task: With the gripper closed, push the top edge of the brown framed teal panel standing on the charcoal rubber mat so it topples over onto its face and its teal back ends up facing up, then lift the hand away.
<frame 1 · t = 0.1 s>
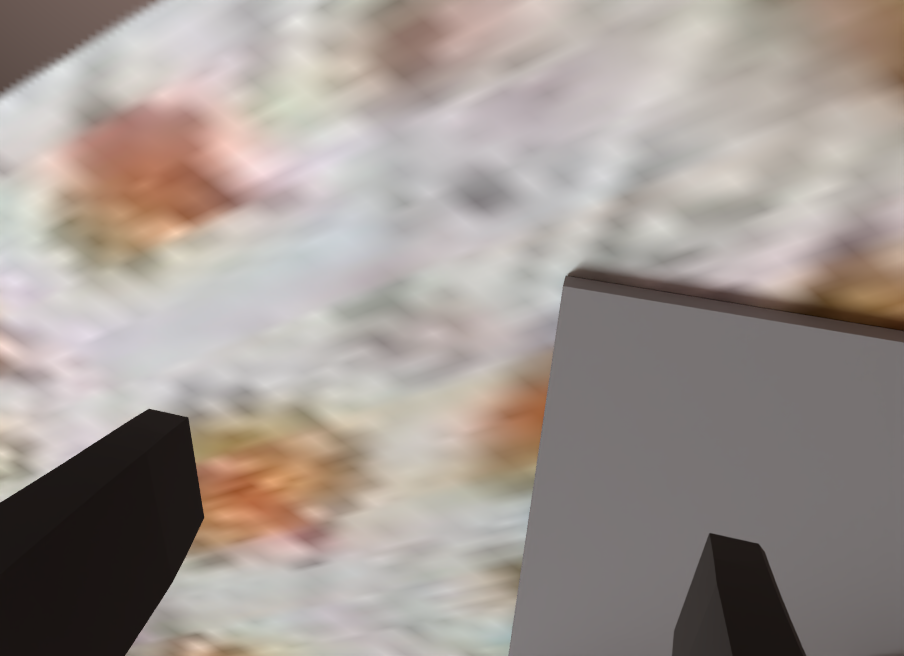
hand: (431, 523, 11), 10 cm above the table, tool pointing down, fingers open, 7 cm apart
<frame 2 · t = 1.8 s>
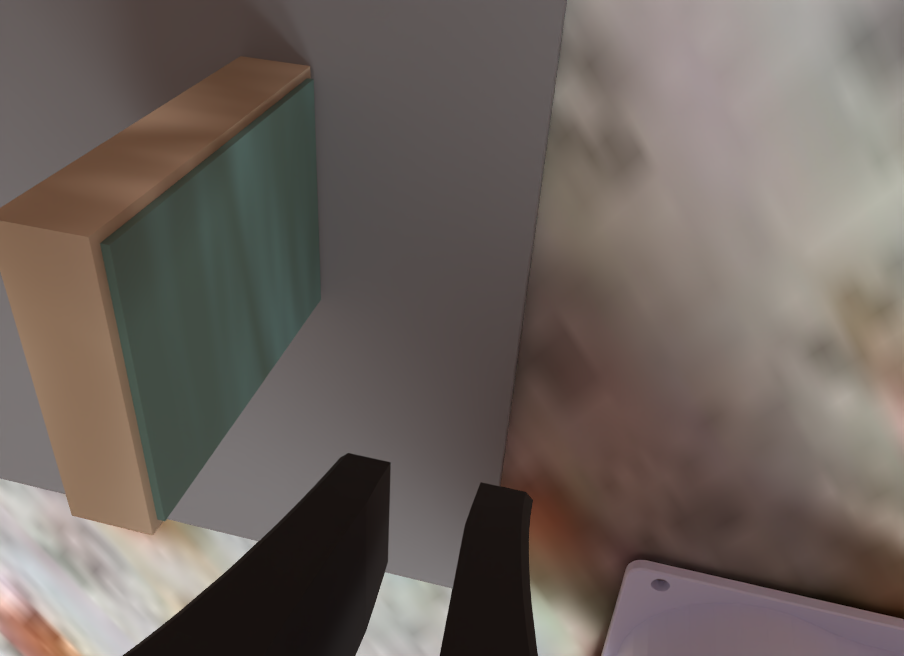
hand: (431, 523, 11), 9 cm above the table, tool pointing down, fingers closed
rubber mat: (186, 232, 21), on the table
brown framed teal panel: (282, 188, 19), resting on rubber mat
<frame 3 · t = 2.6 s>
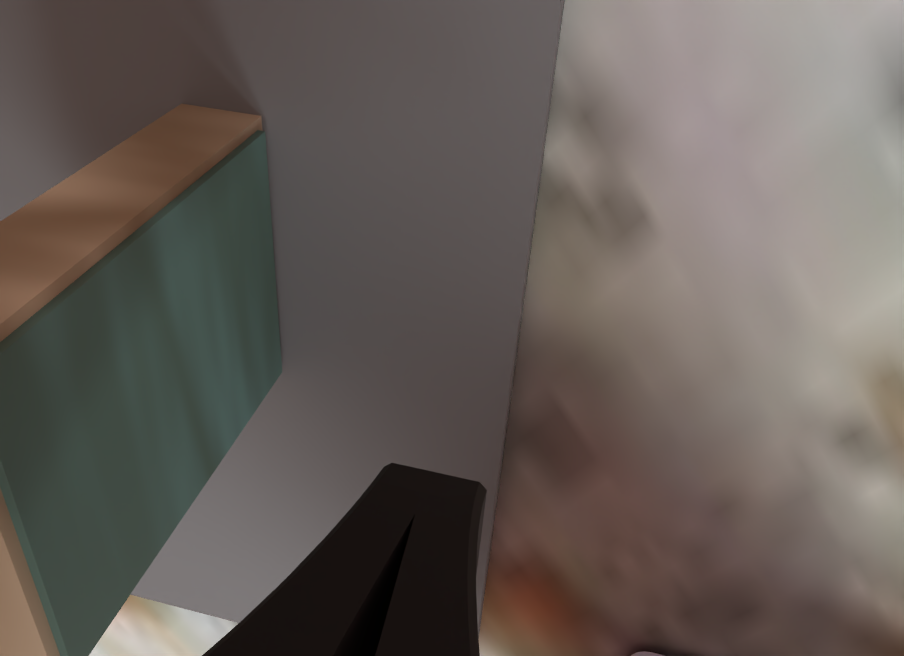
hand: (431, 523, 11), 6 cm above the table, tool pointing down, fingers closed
rubber mat: (132, 293, 19), on the table
brown framed teal panel: (235, 250, 17), resting on rubber mat
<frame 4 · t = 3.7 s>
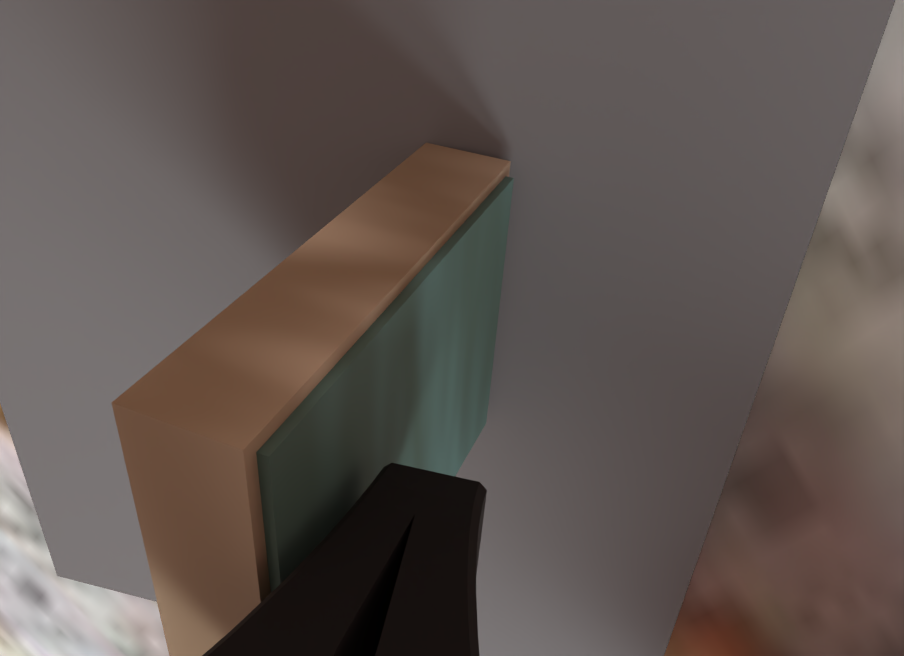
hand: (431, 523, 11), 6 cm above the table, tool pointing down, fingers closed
rubber mat: (326, 332, 18), on the table
brown framed teal panel: (456, 295, 16), point 1 cm above the table, tilted 9°, touching rubber mat
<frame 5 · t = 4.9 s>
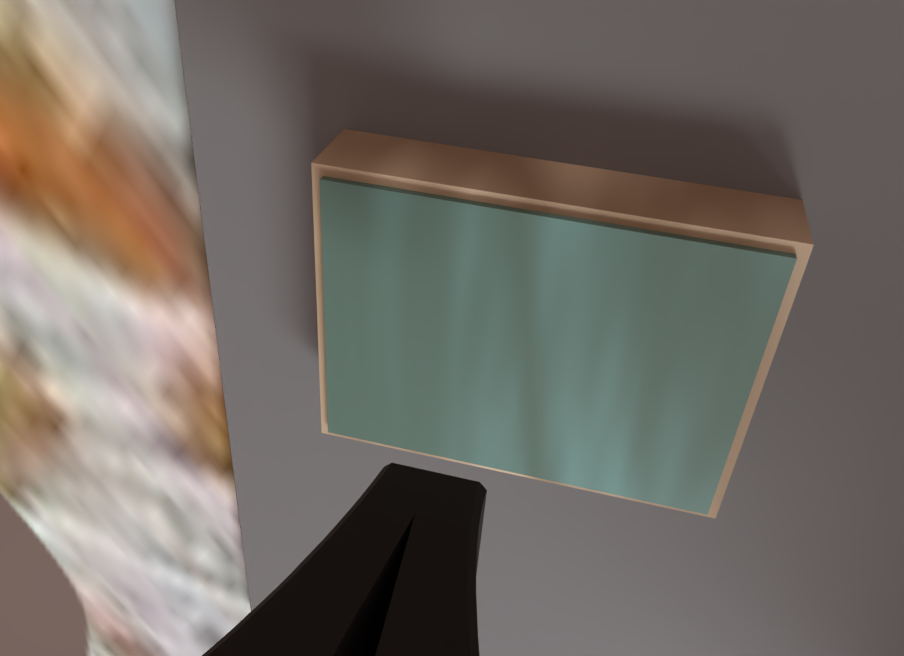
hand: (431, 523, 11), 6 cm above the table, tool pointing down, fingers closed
rubber mat: (623, 390, 17), on the table
brown framed teal panel: (755, 370, 15), point 1 cm above the table, tilted 90°, touching rubber mat
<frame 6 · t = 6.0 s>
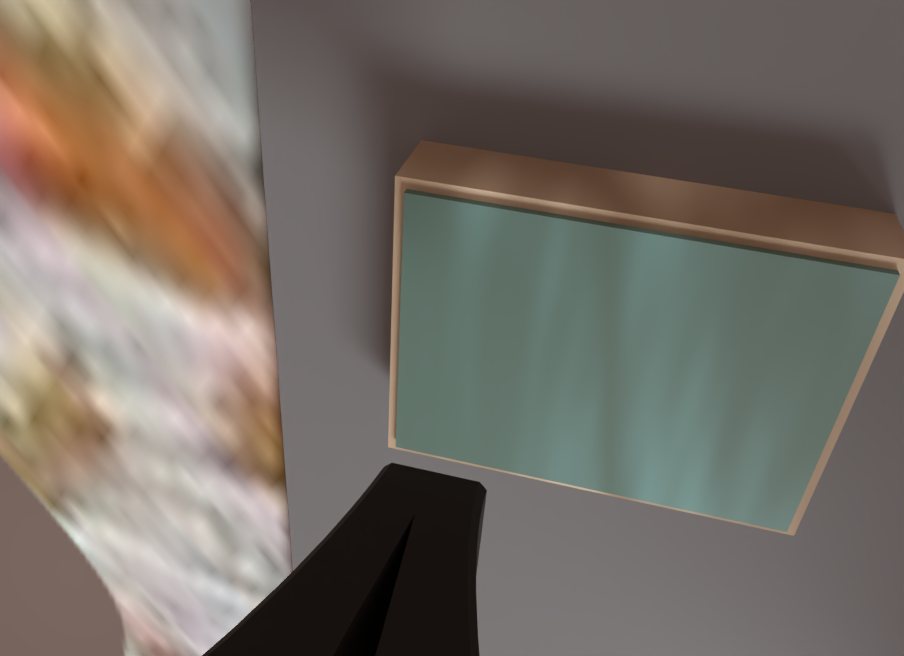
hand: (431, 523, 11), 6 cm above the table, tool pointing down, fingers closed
rubber mat: (693, 404, 17), on the table
brown framed teal panel: (841, 386, 14), point 1 cm above the table, tilted 90°, touching rubber mat
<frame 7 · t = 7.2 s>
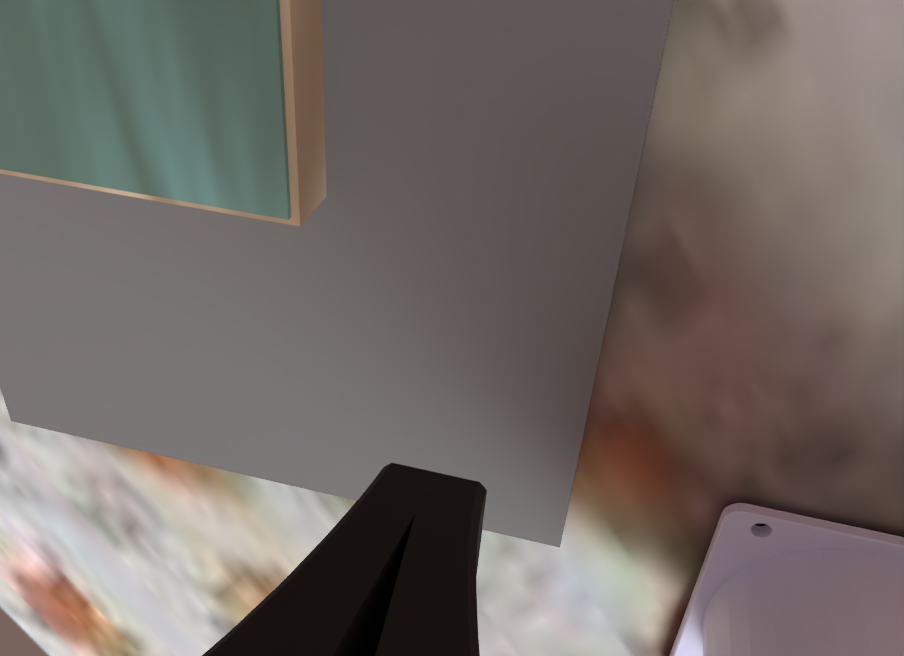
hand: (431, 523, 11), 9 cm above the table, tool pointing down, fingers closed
rubber mat: (249, 134, 19), on the table
brown framed teal panel: (309, 79, 17), point 1 cm above the table, tilted 90°, touching rubber mat
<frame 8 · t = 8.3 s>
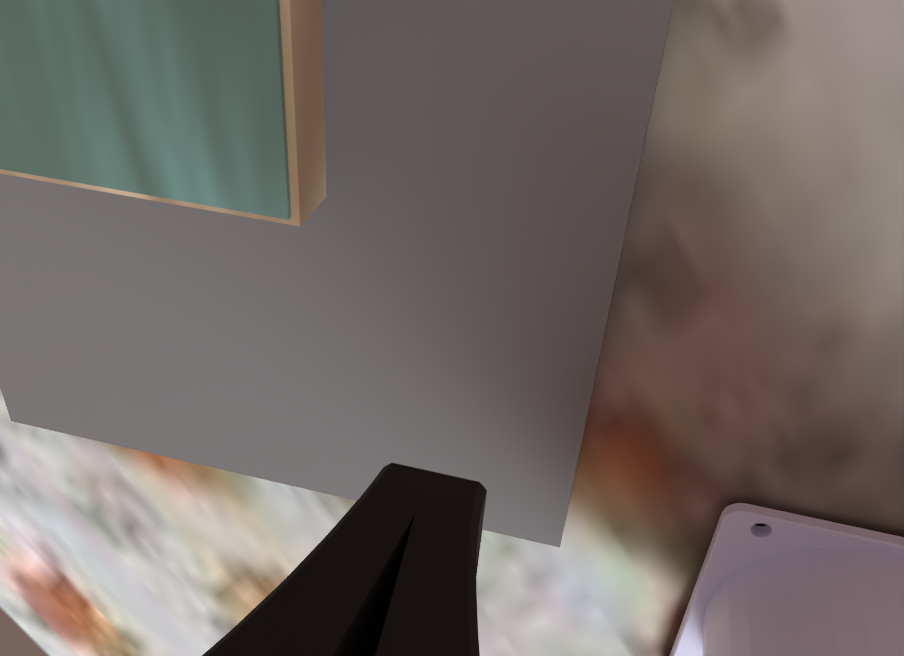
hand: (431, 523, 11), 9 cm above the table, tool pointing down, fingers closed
rubber mat: (249, 134, 19), on the table
brown framed teal panel: (309, 79, 17), point 1 cm above the table, tilted 90°, touching rubber mat
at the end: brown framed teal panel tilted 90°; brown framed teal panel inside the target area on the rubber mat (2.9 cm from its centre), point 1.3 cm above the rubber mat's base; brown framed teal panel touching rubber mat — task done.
